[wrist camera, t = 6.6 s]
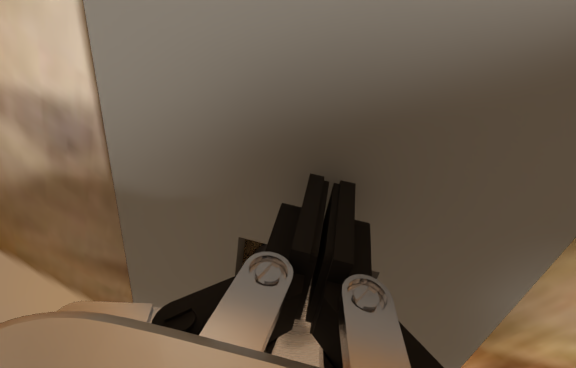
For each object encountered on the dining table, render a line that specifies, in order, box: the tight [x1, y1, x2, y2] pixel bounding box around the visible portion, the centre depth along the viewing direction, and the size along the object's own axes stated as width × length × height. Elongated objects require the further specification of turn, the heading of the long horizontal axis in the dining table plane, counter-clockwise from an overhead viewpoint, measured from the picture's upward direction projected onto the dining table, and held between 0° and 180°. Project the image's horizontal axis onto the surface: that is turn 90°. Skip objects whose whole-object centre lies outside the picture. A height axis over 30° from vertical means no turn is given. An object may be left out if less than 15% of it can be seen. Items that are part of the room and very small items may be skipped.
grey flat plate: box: [83, 0, 576, 368], centre depth 14 cm, size 18×24×2 cm
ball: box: [273, 280, 320, 367], centre depth 16 cm, size 5×5×5 cm
